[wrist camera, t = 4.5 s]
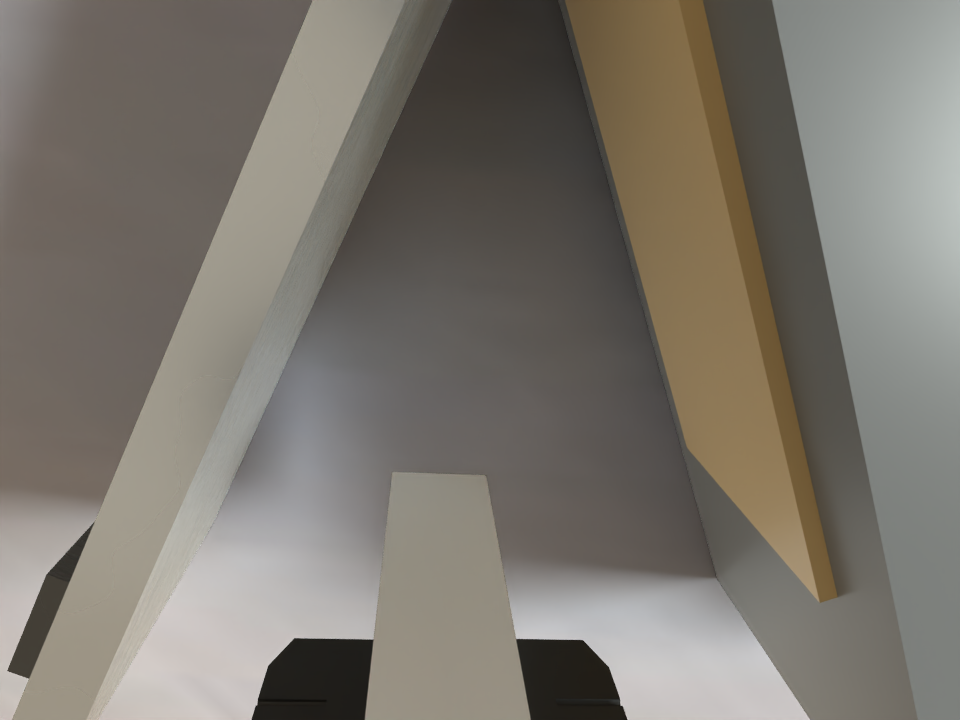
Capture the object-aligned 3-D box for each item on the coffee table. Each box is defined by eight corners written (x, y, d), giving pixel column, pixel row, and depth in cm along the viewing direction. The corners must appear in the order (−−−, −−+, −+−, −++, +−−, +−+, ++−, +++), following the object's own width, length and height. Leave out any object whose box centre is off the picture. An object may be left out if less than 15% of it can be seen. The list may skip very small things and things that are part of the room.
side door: (439, -152, 14) (448, -486, 7) (514, -109, 14) (601, -384, 7) (156, 501, 17) (-55, 767, 9) (221, 527, 17) (64, 807, 10)
